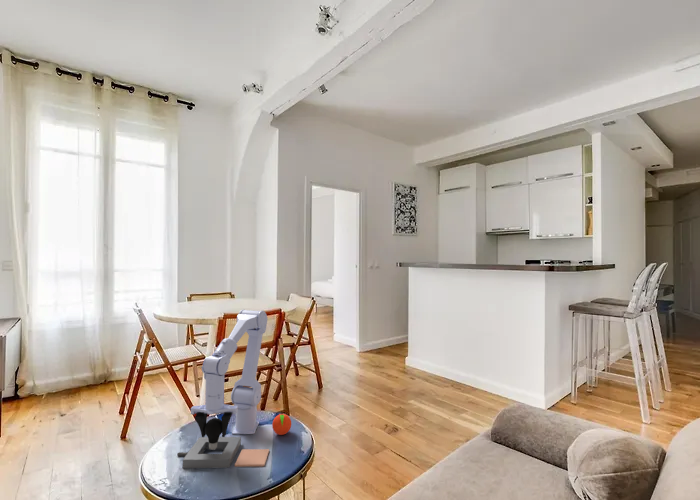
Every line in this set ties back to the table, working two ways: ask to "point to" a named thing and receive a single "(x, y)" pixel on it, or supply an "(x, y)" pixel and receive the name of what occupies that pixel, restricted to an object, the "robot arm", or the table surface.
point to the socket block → (201, 460)
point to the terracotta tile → (252, 457)
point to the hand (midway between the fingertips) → (214, 435)
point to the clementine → (281, 424)
